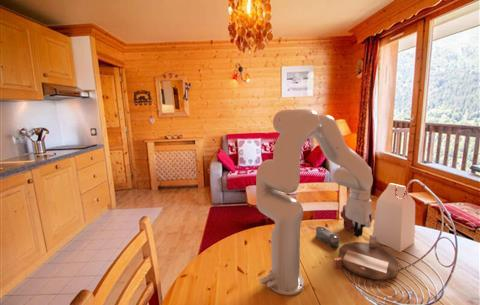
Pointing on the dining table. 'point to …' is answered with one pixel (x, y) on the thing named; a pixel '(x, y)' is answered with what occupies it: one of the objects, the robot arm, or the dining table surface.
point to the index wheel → (368, 259)
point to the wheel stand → (337, 263)
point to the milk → (395, 218)
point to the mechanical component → (347, 221)
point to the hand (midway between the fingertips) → (357, 235)
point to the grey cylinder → (327, 237)
